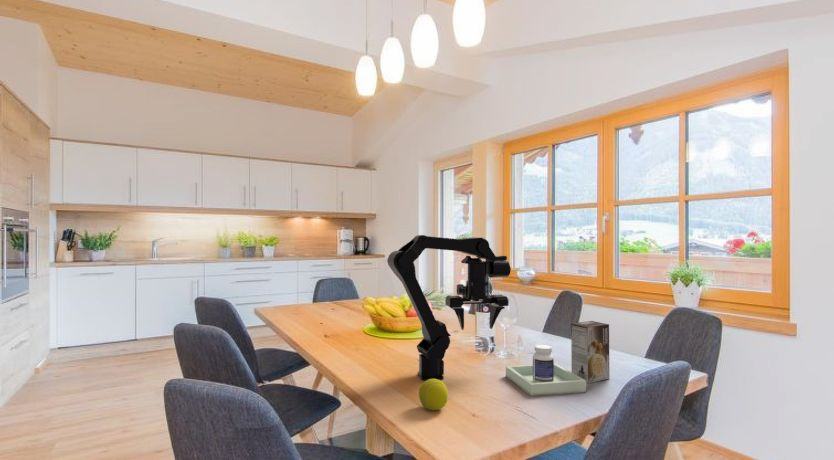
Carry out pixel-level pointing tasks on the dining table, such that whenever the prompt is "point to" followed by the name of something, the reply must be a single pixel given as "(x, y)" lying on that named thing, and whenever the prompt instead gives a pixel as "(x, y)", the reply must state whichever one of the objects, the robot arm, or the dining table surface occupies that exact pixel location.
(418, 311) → the robot arm
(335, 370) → the dining table surface
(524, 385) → the tray
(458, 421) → the dining table surface
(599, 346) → the coffee box
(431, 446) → the dining table surface
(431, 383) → the tennis ball
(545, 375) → the pill bottle
